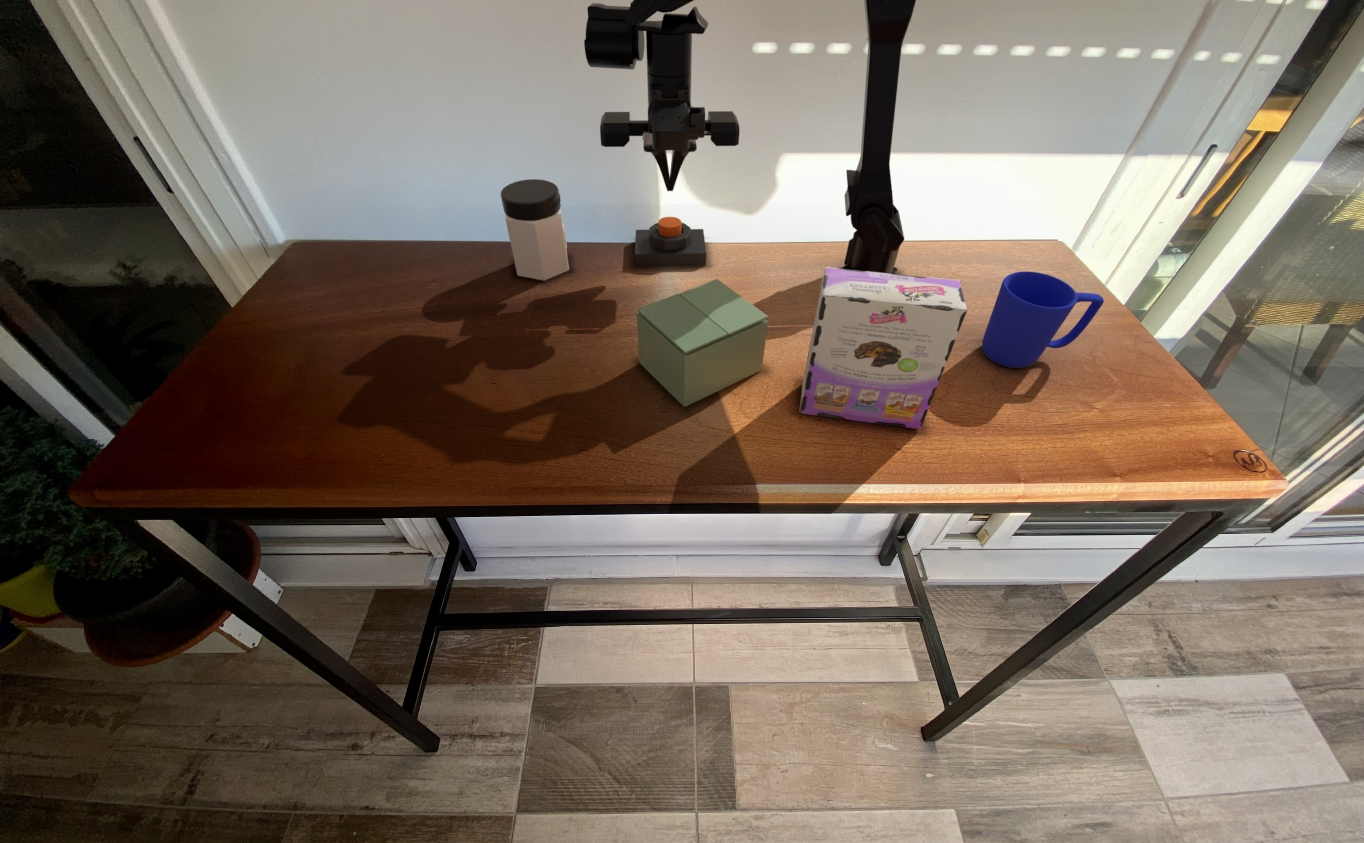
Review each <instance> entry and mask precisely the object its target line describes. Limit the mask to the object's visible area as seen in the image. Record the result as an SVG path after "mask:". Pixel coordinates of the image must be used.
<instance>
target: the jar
mask: <svg viewBox="0 0 1364 843" xmlns="http://www.w3.org/2000/svg"><path fill="white" fill-rule="evenodd" d="M500 198H501V202H502V208H503V212H504V220H505V224H506V229H507V233H508V237H509V242H510V247H511V251H512V256H513V261H514V267H515V271H516V275H517V276H518V277H521V278H527V279H533V280H538V281H543V282H544V281H548V280H550V279H552V278H554V277H557V276H559V275H562V274H564V273H567V272H569V270H570V265H569V259H568V258H569V257H568V251H567V248H568V246H567V245H568V244H567V237H566V230H565V224H564V222H563V215H562V208H561V207H562V205H561V202H562V200H561V194H560V191H559V187H558V186H557V185H556V184H555V182H551V181H548V180H545V179H539V178H535V179H533V178H532V179H522V180H517V181H514V182H511V183H509V184H507V185H506V186H504V187H503V188H502V189H501V191H500Z"/></svg>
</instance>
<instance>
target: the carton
mask: <svg viewBox="0 0 1364 843" xmlns="http://www.w3.org/2000/svg"><path fill="white" fill-rule="evenodd" d="M636 311H637V312H638V313H636V323H637V324H636V326H637V343H638V360H639V364H640V365H641V366H642V367H643V368H644V369H645V370H646V371H647V372H648V373H649V374H650V375H651V376H652V377H653V378H654V379H655V380H656V381H657V382H658V383H659V384H660V385H661V386H662V387H663V388H665V390H666V391H667V392H668V393H669V394H670V395H672V397H674V399H675V400H676V401H677V402H679V404H680V405H681V406H682V407H683V408H685V407H688V406H690V405H692V404H694V403H696V402H698V401H700V400H702V399H704V398H706V397H708V396H711V395H713V394H715V393H717V392H719V391H721V390H724V389H725V388H727V387H729V386H731V385H734V384H736V383H738V382H740V381H742V380H744V379H747V378H748V377H750V376H753V375H755V374H757V373H758V372H761V371H762V370H763V364H764V358H765V356H764V355H765V348H766V341H767V334H768V325H769V321H768V320H767V319H765V320H763V321H760V322H758V323H756V324H754V325H751V326H749V327H747V328H744V329H742V330H740V331H738V332H735V333H733V334H731V335H728V334H727V333H726V332H725V331H724V330H723V329H721V328H720V327H719V326H718V325H716V324H715V323H714V322H713V321H711V320H710V319H709V318H708V317H706V316H705V315H704V314H703V313H701V312H700V311H699V310H698V309H696V308H695V307H694V306H693V305H691V304H690V303H689V302H688V301H686V300H685V299H684V298H683V297H681V296H680V295H679V293H675V294H673V295H671V296H667V297H665V298H663V299H660V300H657V301H654V302H652V303H649V304H647V305H643V306H641V307H638V308H637V309H636Z"/></svg>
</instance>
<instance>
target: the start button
mask: <svg viewBox="0 0 1364 843" xmlns="http://www.w3.org/2000/svg"><path fill="white" fill-rule="evenodd" d="M657 223H658V231H659V235H661V236H664V237H676V236H679V235H681V232H682V223H683V222H682V220H681V219H680V218H679V217H677V216H665V217H661V218H659V220H658V221H657Z"/></svg>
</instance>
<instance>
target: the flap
mask: <svg viewBox="0 0 1364 843" xmlns="http://www.w3.org/2000/svg"><path fill="white" fill-rule="evenodd" d="M678 294H679V295H680V296H681V297H683V298H684V299H685V300H686V301H688V302H689V303H690V304H691V305H693V306H694V307H695V308H696V309H698V310H699V311H700V312H701V313H703V314H704V315H705V316H706V317H708V318H709V319H710V320H711V321H713V322H714V323H715V324H716V325H718V326H719V327H720V328H721V329H723V330H724V331H725V332H726V333H727V334H728V335H731V334H733V333H735V332H738V331H740V330H742V329H744V328H747V327H749V326H751V325H754V324H756V323H758V322H760V321H763V320H765V319H766V320H767V319H769V315H767V314H766V313H764V312H763V311H762V310H760V309H759V308H757V307H756V306H755V305H754V304H752V303H751V302H750V301H748V300H747V299H746V298H744V297H743V296H741V294H739V293H737V292H736V291H735V290H733V289H732V288H730V287H729V286H728V285H726V284H725V283H723V282H722V281H720V280H719V279H718V278H716V279H712V280H710V281H708V282H705V283H703V284H700V285H697V286H695V287H691V288H689V289H687V290H684V291H682V292H679V293H678Z"/></svg>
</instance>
